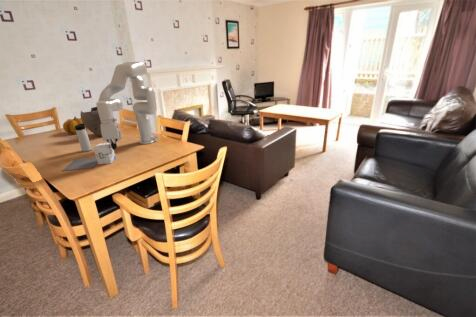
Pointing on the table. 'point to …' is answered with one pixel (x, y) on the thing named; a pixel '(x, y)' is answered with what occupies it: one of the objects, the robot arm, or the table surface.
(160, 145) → the table surface
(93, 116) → the clay pot
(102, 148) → the ink box
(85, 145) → the travel mug
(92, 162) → the rubber mat
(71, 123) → the decorative pumpkin
